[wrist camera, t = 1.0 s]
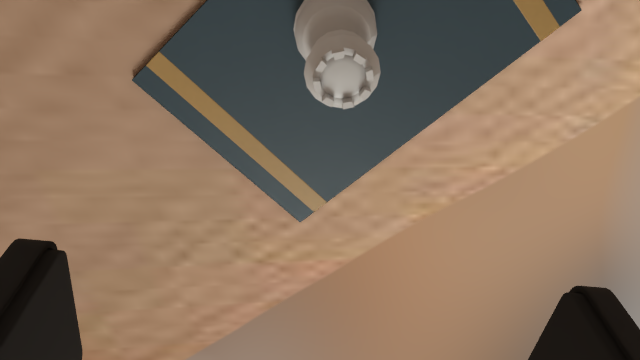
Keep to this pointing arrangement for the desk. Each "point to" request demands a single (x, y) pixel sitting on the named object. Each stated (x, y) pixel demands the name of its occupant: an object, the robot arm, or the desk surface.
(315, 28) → the rook chess piece
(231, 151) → the placemat
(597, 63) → the desk surface
